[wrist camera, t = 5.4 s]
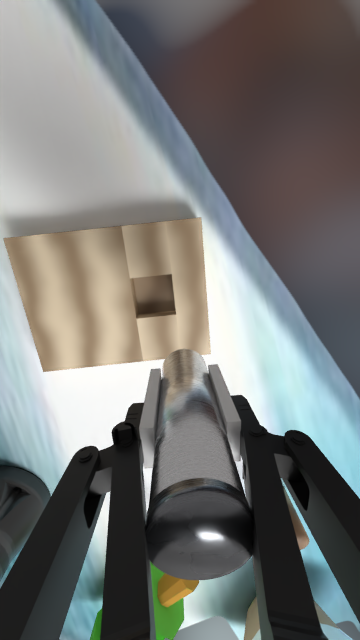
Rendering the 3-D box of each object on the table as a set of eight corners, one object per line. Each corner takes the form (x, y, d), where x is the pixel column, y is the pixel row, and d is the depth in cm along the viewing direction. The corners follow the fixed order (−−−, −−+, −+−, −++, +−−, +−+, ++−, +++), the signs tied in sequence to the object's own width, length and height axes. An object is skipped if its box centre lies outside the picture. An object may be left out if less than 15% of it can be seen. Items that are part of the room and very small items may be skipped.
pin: (164, 389, 21) (150, 584, 9) (160, 349, 20) (137, 505, 7) (207, 386, 21) (256, 575, 9) (205, 346, 20) (259, 496, 7)
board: (54, 362, 34) (43, 371, 32) (19, 240, 30) (3, 238, 27) (207, 345, 35) (210, 353, 32) (198, 221, 30) (201, 217, 27)
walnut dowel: (264, 500, 44) (284, 552, 36) (264, 485, 43) (284, 535, 35) (284, 498, 44) (308, 549, 36) (285, 482, 43) (309, 532, 35)
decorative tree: (206, 643, 35) (84, 730, 39) (211, 566, 46) (116, 640, 50) (158, 577, 37) (46, 666, 41) (174, 519, 48) (86, 593, 52)
